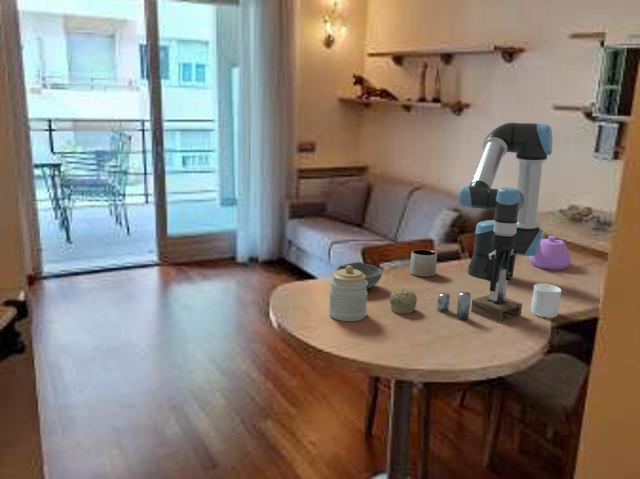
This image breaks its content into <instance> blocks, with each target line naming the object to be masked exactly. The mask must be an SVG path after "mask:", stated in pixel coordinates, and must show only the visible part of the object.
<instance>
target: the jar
mask: <svg viewBox="0 0 640 479" xmlns="http://www.w3.org/2000/svg"><path fill="white" fill-rule="evenodd" d="M331 276H332V278H331V279H330V280H329V284H330V289H329V292H328V293H329V306H328V314H329V317H331V318H333V319H334V320H338V321H341V322H342V321H343V322H358V321H361V320H363V319H365V317H366V315H367V311H368V309H367V308H368V307H367V302H368V289H366V286H367V285H368V282H367V281H366V280H365V278H366V275H365V274H363V273H362V272H361V271H359V270H355V269H353V267H352V266H350V265H348V266H347V267H346V269H340V270H338V271H337V270H336V271H335V272H333V273H332V275H331Z"/></svg>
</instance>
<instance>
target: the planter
mask: <svg viewBox="0 0 640 479" xmlns="http://www.w3.org/2000/svg"><path fill="white" fill-rule="evenodd" d="M437 257H438V253H437V251H434V250H432V249H426V248H425V249H424V248H423V249H422V248H419V249H413V250H411V254H410V266H409V272H410V274H411V275H413V276H415V277H418V276H420V278H431V276H432V277H434V276H435V275H436V272H437V259H438V258H437Z"/></svg>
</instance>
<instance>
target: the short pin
mask: <svg viewBox="0 0 640 479" xmlns="http://www.w3.org/2000/svg"><path fill="white" fill-rule="evenodd" d="M437 297H438V298H437V307H436V310H437V312H439V313H448V312H450V310H449V309H450V300H451V294H450V293H447V292H439V293H438V295H437Z"/></svg>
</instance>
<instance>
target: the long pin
mask: <svg viewBox="0 0 640 479" xmlns="http://www.w3.org/2000/svg"><path fill="white" fill-rule="evenodd" d="M506 272H507V269H506V268H504V267H501V268H500V272H499V277H498V281H497V282H498V283H499V287H498V296H497V301H494V300H491V303H494V304H497V305H501V304H503V299H504V290H505V281H506Z"/></svg>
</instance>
